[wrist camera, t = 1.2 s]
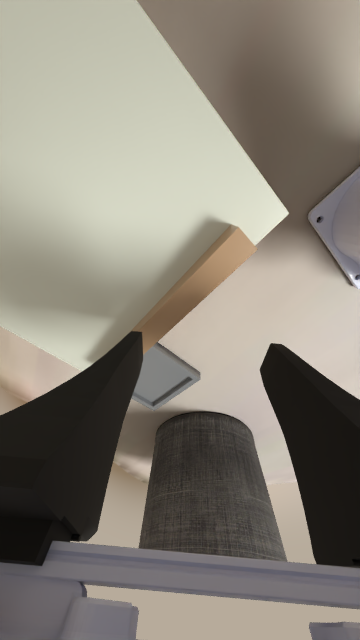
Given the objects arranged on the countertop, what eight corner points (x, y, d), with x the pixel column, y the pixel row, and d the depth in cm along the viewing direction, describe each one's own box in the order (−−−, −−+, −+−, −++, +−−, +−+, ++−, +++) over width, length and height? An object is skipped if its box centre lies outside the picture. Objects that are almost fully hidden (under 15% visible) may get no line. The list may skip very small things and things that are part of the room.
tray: (200, 372, 25) (200, 379, 24) (155, 403, 30) (154, 410, 28) (141, 330, 22) (138, 336, 21) (100, 372, 26) (96, 379, 25)
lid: (284, 213, 10) (308, 214, 8) (108, 379, 18) (97, 402, 16) (-21, -206, 5) (-157, -473, 3) (-81, 272, 13) (-132, 285, 11)
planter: (177, 465, 41) (171, 592, 27) (138, 421, 32) (102, 572, 19) (260, 455, 37) (301, 599, 23) (240, 401, 28) (285, 576, 15)
